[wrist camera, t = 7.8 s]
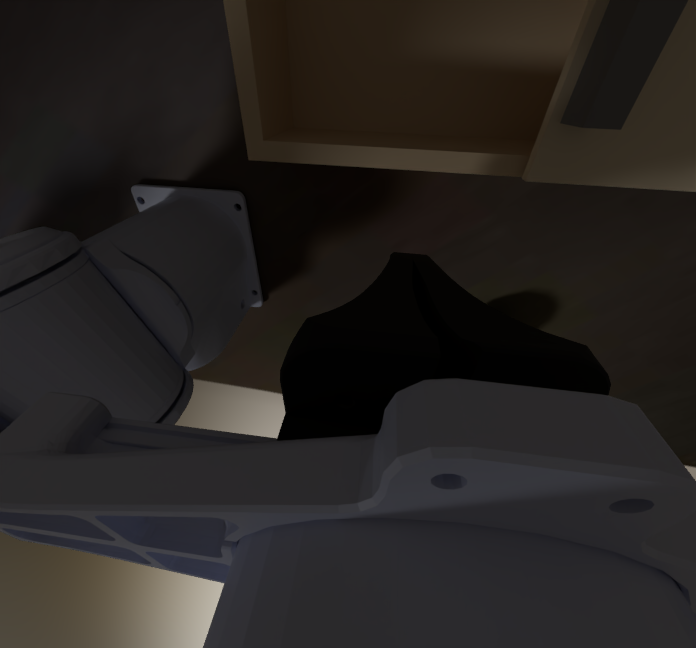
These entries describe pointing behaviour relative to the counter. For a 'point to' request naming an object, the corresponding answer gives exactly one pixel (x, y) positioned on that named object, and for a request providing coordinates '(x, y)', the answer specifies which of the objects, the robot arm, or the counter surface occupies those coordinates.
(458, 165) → the carton
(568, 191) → the counter surface
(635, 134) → the carton lid
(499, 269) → the counter surface
